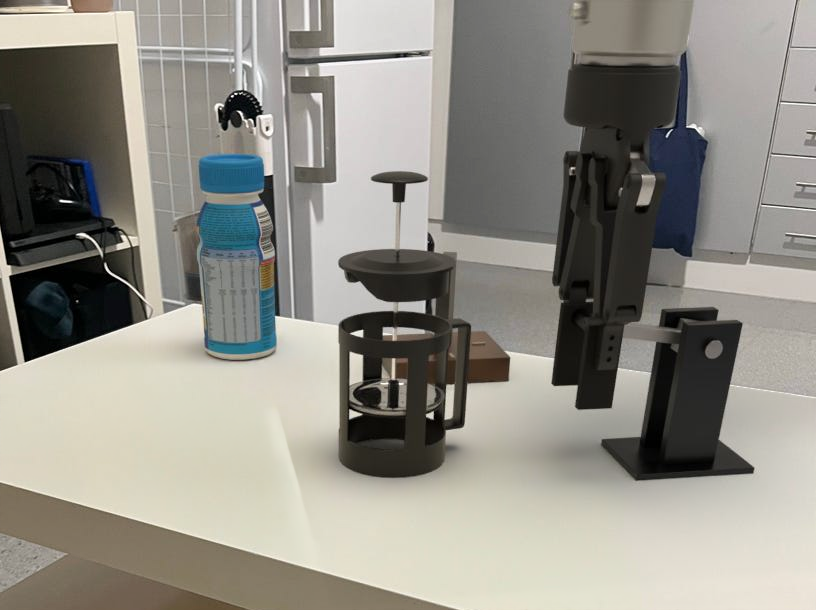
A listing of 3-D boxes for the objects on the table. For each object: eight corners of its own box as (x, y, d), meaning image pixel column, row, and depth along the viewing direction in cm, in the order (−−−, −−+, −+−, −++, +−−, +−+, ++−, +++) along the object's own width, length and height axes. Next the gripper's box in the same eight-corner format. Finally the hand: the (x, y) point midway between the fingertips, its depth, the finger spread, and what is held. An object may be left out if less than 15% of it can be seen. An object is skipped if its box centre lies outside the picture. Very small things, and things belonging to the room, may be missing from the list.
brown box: (483, 353, 114) (485, 329, 113) (508, 380, 106) (510, 355, 104) (378, 357, 113) (379, 333, 111) (395, 386, 104) (396, 360, 103)
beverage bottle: (221, 366, 110) (208, 164, 100) (192, 346, 117) (177, 155, 106) (290, 354, 114) (285, 159, 103) (258, 336, 120) (250, 150, 109)
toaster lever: (589, 349, 76) (598, 317, 75) (567, 331, 81) (575, 300, 79) (722, 365, 79) (733, 334, 77) (694, 346, 83) (704, 317, 82)
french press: (354, 498, 81) (356, 185, 69) (312, 457, 88) (308, 168, 76) (484, 476, 84) (508, 176, 72) (434, 438, 92) (448, 160, 80)
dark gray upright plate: (439, 338, 110) (443, 249, 105) (452, 339, 110) (457, 249, 105) (433, 351, 106) (437, 259, 101) (446, 352, 106) (451, 259, 101)
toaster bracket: (634, 492, 82) (661, 332, 75) (599, 455, 88) (620, 305, 82) (751, 484, 83) (788, 326, 76) (707, 448, 90) (737, 300, 83)
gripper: (531, 54, 76) (503, 363, 88) (623, 67, 60) (573, 438, 73) (627, 54, 77) (586, 360, 89) (741, 67, 61) (672, 433, 74)
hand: (580, 394), depth 81 cm, fingers closed on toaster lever, 5 cm apart
